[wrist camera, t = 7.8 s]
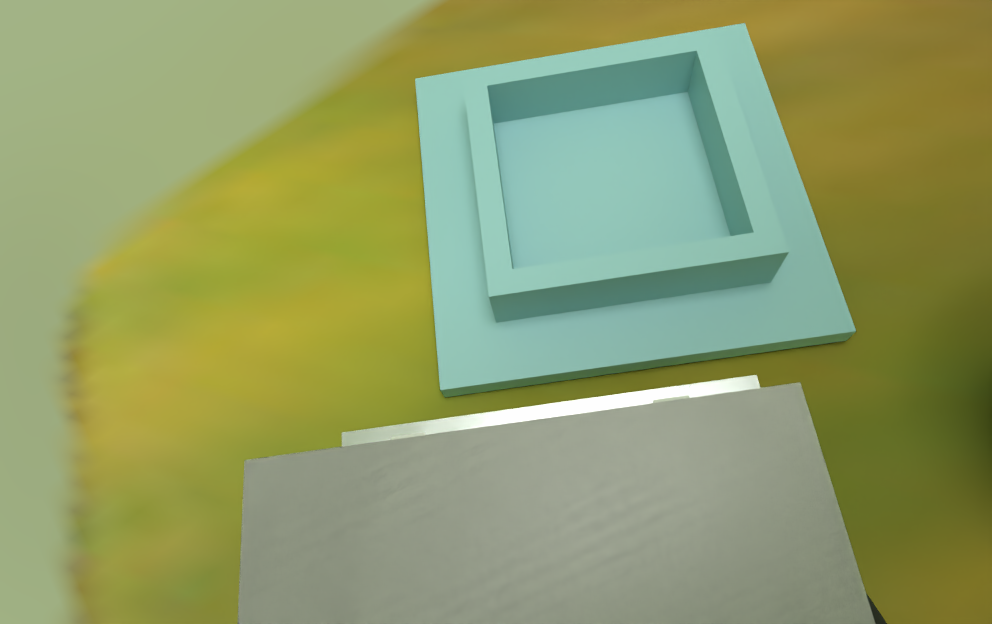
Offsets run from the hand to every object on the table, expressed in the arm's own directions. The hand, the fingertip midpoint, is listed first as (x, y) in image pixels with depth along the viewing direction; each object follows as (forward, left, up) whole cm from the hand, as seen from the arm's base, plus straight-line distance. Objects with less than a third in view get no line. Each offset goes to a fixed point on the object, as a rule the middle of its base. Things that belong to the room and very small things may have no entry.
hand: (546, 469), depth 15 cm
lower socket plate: (-4, -13, -11) cm, 18 cm away
